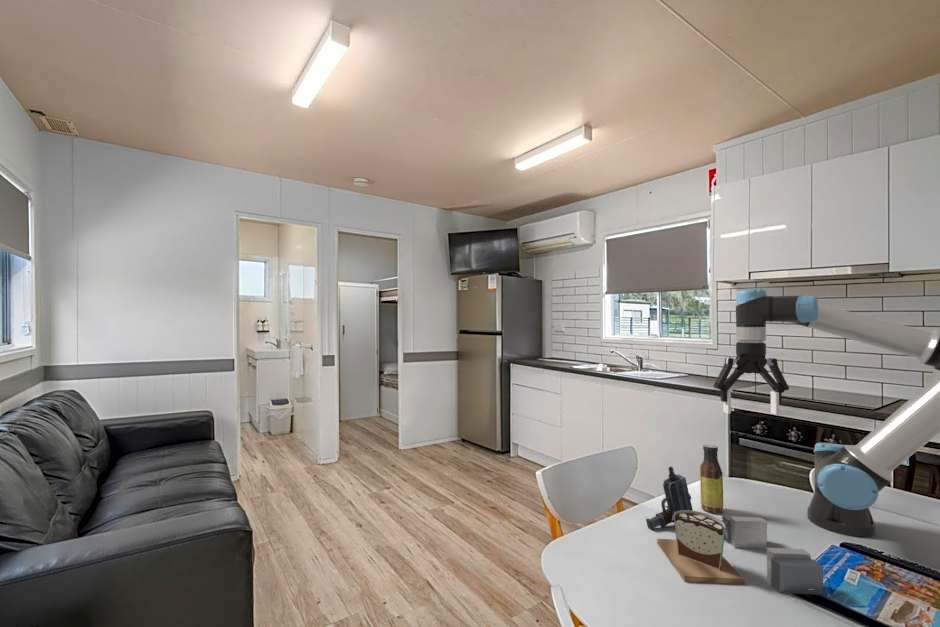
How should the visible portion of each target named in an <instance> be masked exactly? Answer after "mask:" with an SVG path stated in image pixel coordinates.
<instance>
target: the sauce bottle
mask: <svg viewBox="0 0 940 627" xmlns="http://www.w3.org/2000/svg"><path fill="white" fill-rule="evenodd" d="M702 446H703V447H702V449H703V461H702V463H701V464H700V467H699V469H700V470H699V472H700V473H699V474H700V475H699V480H700V481H699V484H700V485H699V488H700V504H701V505H700V508H701V509H702V510H703V511H705V512H706V513H711V514H721V513H723V511H724V481H723V480H724V479H723V477H724V476H723V475H724V474H723V471H722V468H721V465H720V463H719V459H718V452H719V449H718V448H719V447H718V446H717V445H713V444H703V445H702Z"/></svg>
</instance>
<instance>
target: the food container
mask: <svg viewBox="0 0 940 627" xmlns="http://www.w3.org/2000/svg"><path fill="white" fill-rule="evenodd" d="M720 519H721V518H718V517H716V516H715V515H712V514H709V513H707V512H706V513H705V512H703V511H698V510H693V511H691V510H682V511H677V512H675V513H674V515H673V517H672V521H673V520H674V521H675V523H674V529H675V539H676V541H677V551H678V555H679V556H682V557H685V558H687V559H690V560H693V561H696V562H698V563H701V564H704V565H706V566H709V567H712V568H714V569H717V570H720V569H721V563H722V556H723V552H724V544H725V539H724V536H725V535H726V538H727V537H728V533H727V529H726V526H725V524H724V522H722V521H721V520H720Z"/></svg>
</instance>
